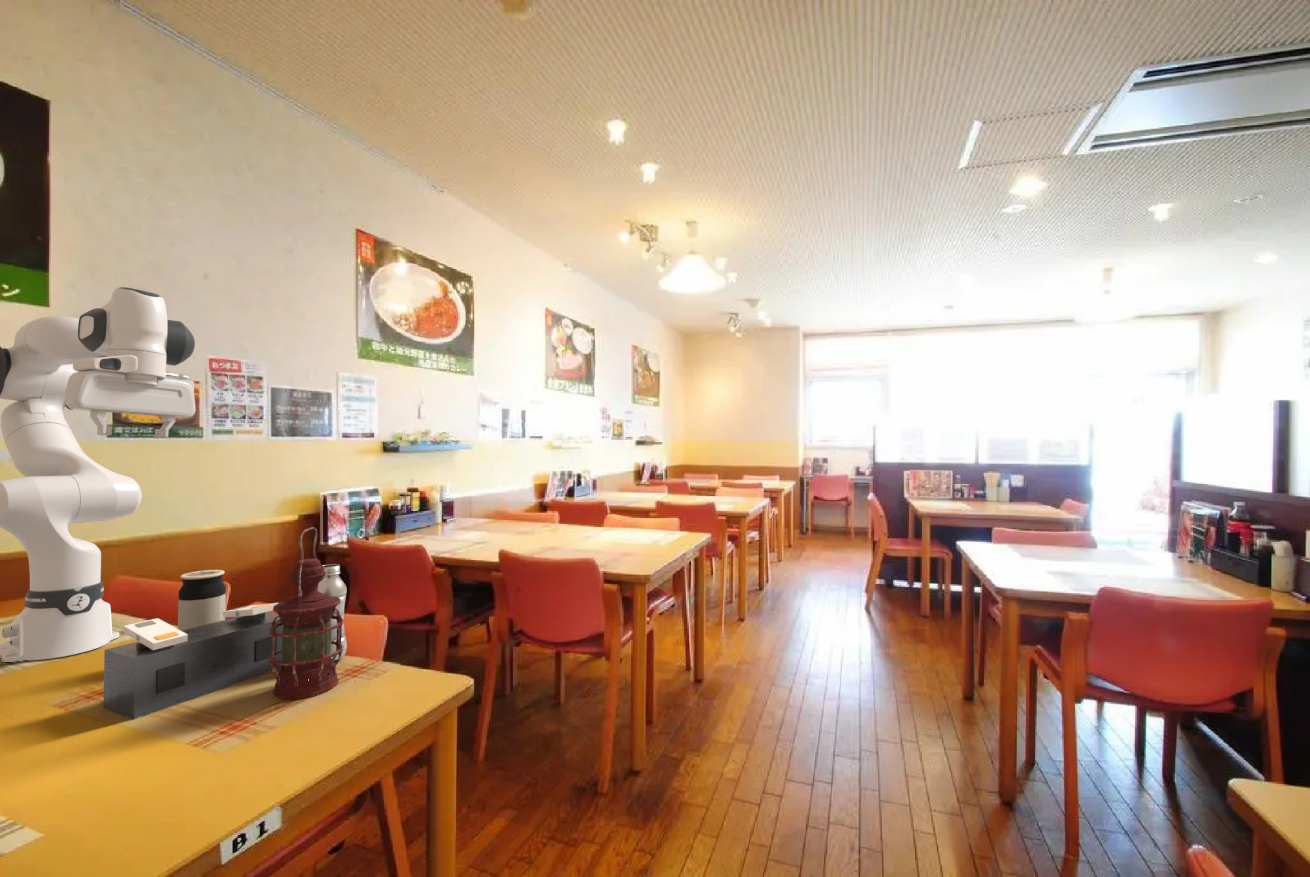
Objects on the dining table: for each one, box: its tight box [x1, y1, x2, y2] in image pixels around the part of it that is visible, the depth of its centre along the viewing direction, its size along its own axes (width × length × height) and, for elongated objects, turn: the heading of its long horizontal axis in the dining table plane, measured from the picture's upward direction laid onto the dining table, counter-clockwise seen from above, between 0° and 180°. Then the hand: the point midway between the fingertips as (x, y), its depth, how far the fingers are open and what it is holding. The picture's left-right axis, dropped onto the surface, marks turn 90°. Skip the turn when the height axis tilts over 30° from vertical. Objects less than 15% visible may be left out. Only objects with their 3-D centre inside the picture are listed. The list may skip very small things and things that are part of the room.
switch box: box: [102, 611, 284, 720], centre depth 108 cm, size 10×26×11 cm, turn 156°
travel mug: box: [177, 569, 227, 631], centre depth 122 cm, size 8×8×18 cm
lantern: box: [269, 526, 345, 700], centre depth 107 cm, size 12×12×30 cm
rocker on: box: [122, 618, 188, 650], centre depth 101 cm, size 10×5×1 cm, turn 66°
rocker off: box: [223, 602, 279, 619], centre depth 115 cm, size 10×5×1 cm, turn 66°
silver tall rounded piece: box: [318, 563, 348, 662], centre depth 120 cm, size 6×7×20 cm
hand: (134, 436), depth 113 cm, fingers open, 8 cm apart
